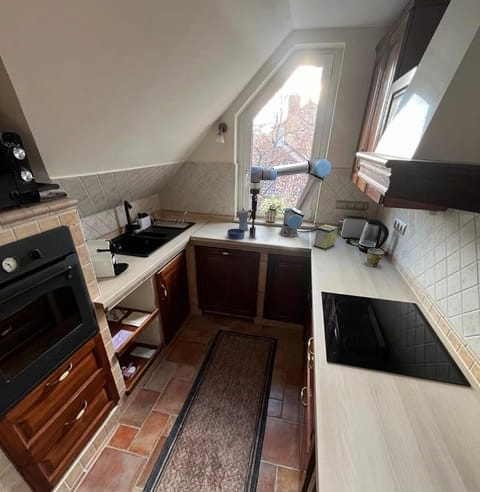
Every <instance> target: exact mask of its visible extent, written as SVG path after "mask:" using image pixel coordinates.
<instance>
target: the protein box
mask: <svg viewBox="0 0 480 492" xmlns="http://www.w3.org/2000/svg"><path fill="white" fill-rule="evenodd" d="M316 229H317V230H315V237H314V242H313V248H317V249H320V250H324V251H326V250H328V249H331V248H332V247H334V246H335V244H336V239H337V236H338V235H337V234H338V231H339V226H336V225H331V224H327V223H326V224H324V225H321V226H318V227H316Z"/></svg>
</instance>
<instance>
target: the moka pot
mask: <svg viewBox="0 0 480 492" xmlns="http://www.w3.org/2000/svg"><path fill="white" fill-rule="evenodd" d="M249 213H250V215H249ZM236 215H237V217H238V220H239V222H238V229H242V230H244V231H245V232H247V231H248V232H249V225H248V221H249V222H250V221H251V220H252V209H250V210H245V209H244V208H242V209H241V210H238V211H237V212H236ZM248 216H249V219H248Z"/></svg>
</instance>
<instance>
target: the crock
mask: <svg viewBox="0 0 480 492" xmlns="http://www.w3.org/2000/svg"><path fill="white" fill-rule="evenodd" d="M256 230H257V228H256V226H254V229H252V226H250V227H249V229H248V232H249V233H248V238H249V239H256V233H257V231H256Z"/></svg>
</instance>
